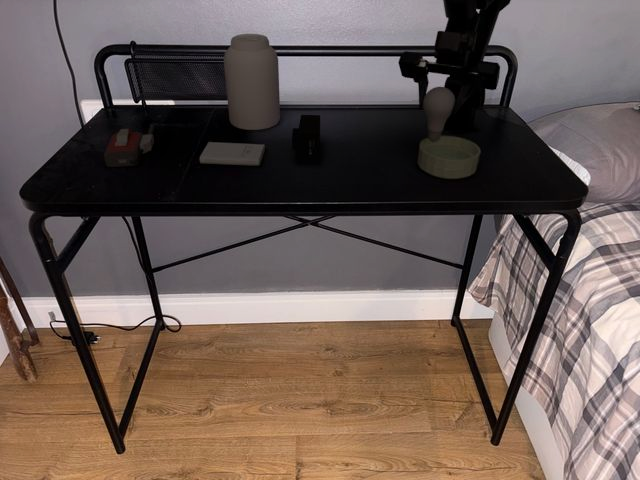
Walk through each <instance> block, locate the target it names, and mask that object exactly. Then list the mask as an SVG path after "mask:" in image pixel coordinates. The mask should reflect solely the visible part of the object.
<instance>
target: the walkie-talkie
mask: <svg viewBox="0 0 640 480" xmlns="http://www.w3.org/2000/svg"><path fill="white" fill-rule="evenodd" d="M154 130H155V124H154V123H150V124H149V128H148V131H147V134H143V132H142V131H141V132H140V131H132V129H131V128H120V129H118V131H117V132H115V133H113V134H112V135H111V136H110V139H109V141H108V144H107V146H106V148H105V151H104V153H103V160H104V163H105V166H106V167H108V168H120V167H135V166H137V165H138V164H139V163H140V160H141V156H142V155H145V154H146V153H148V152H151V151H152V149H153V145H154V144H155V137H154V134H153V133H154Z"/></svg>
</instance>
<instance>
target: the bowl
mask: <svg viewBox="0 0 640 480" xmlns="http://www.w3.org/2000/svg"><path fill="white" fill-rule="evenodd" d="M481 152H482V151H481V148H480V146H479V145H478V144H477V143H475V142H474V141H472V140H470V139H467V138H464V137H460V136H455V135H445V134H443V135H442V134H441V138H440V140H438V141H436V142H431V141H430V140H429V139H428V137H426V138H424V139H422V140H421V141H420V142H419V145H418V152H417V160H416V161H417V163H416V164H417V165H418V167H419V168H420V169H421V170H422V171H424V173H427V174H429V175H430V176H433V177H437V178H440V179H447V180H457V179H463V178H467V177H471V176H472V175H474V174H475V173H476V172H477V170H478V167H479V162H480V156H481Z"/></svg>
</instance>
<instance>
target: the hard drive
mask: <svg viewBox="0 0 640 480" xmlns="http://www.w3.org/2000/svg"><path fill="white" fill-rule="evenodd" d="M265 151H266V145H265V144H262V143H261V144H259V143H255V144H254V143H239V142H238V143H237V142H216V141H215V142H214V141H208V142H207V143H206V146H205V147H204V149H203V151H202V152H201V154H200V156H199V164H207V165H228V166H250V167H253V166H256V167H258V166H260V165H261V162H262V159H263V157H264V155H265Z"/></svg>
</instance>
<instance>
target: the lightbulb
mask: <svg viewBox="0 0 640 480" xmlns="http://www.w3.org/2000/svg"><path fill="white" fill-rule="evenodd" d="M454 104H455V96H454V94H453V93H452V92H451V91H450V90H449V89H447V88H445V87H444V86H436V87H435V86H434V87H433V88H431V89H430V90H427V92H426V95H425V97H424V99H423V107H422V109H423V112H424V114H425V116H426V120H427V126H426V127H427V138H428V139H429V140H430V141H431V142H436V141H438V140H440V138H441V135H442V134H443V133H442V132H443V130H444V129H445V127H444V125H445V122H446V120H447V118H448V117H449V116H450V115H451V113H452V111H453V107H454Z"/></svg>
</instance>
